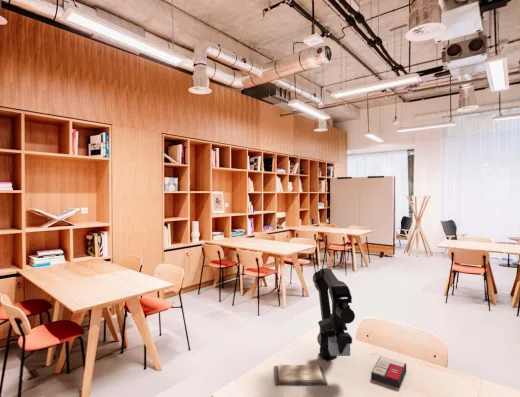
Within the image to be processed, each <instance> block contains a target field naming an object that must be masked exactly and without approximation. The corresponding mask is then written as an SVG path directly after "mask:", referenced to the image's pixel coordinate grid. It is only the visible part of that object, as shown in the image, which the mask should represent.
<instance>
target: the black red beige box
mask: <svg viewBox="0 0 520 397" xmlns="http://www.w3.org/2000/svg"><path fill="white" fill-rule="evenodd" d="M406 373H407V363H406V362H404V361H400V360H396V359H393V358H390V357H386V356H382V355H381V356H379V358H378V360H377V362H376V363H375V365H374V366H373V368H372V371H371V373H370V377H371V378H370V379H371V380H373V381H375V382H378V383H381V384H385V385H387V386H390V387H391V386H392V387H394V388H397V389H400V388H401V386H402V382H403V381H404V377H405V375H406Z"/></svg>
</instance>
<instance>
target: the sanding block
mask: <svg viewBox="0 0 520 397" xmlns="http://www.w3.org/2000/svg"><path fill="white" fill-rule="evenodd" d="M334 338H335V337H328V350H329V353H330V355H331V356H337V357H350V356H351V344H347V345H346V347H345V349H344V351H343V353H342V354H339V350H338V344H337V343H336V341H335V340H334Z"/></svg>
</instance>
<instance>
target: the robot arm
mask: <svg viewBox="0 0 520 397" xmlns="http://www.w3.org/2000/svg"><path fill="white" fill-rule="evenodd" d="M332 270H333V269H332V268H330V267H322V268H320V269H319V270H317V271H315V272H314V273H313V275H312V281H313V282H312V283H313V284H314V285H313V286H314V288H315V289H316V290H317V291H318V296H319V297H318V298H319V299H318V300H319V306H320V314H321V320H319V321H318V322H317V323H318V327H319V333H318V335H317V338H316V339H317V340H316V341H317V343H318V345H319V353H318V354H317V355H318V356H319V357H321V358H322V359H323V360H325V361H327V362H329V361H331V360H333V359H334V360H335V359H337V358H338V356H331V355H330V353H329V350H328V337H335V338H334V340H335V341H336V343H337V344H338V350H339V354H342V353H343V351H344V349H345V347H346V345H347V344H350V345H351V344H353V337H352V336H351V335H350V333H349V332H346V331H348V327H347V325H348V324H351V323H353V322H354V320H355V319H356V314H355V312H354V310H353V309H352V308H351V305H350V304H352V303H353V301H352V299H353V297H352V294H351V290H350V288H349V287H348V284H346V283H345V282H344V281H341V280H339V279H338V277H337V276H336V275H335V274H334V272H333V271H332ZM329 296H330V297H329ZM330 300H331V305H330Z"/></svg>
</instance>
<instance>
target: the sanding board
mask: <svg viewBox="0 0 520 397" xmlns="http://www.w3.org/2000/svg"><path fill="white" fill-rule="evenodd" d="M273 367H274V368H273V369H274V370H273V371H274V383H275V386H328V384H329V383H328V381H327V378H326V375H325V371H324V369H323V366H322V365H319V364H277V365H274V366H273Z"/></svg>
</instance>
